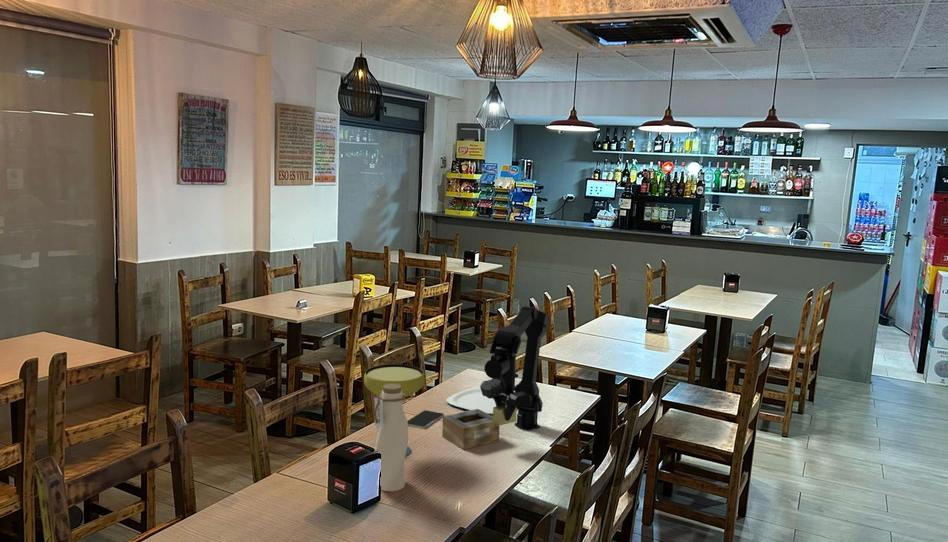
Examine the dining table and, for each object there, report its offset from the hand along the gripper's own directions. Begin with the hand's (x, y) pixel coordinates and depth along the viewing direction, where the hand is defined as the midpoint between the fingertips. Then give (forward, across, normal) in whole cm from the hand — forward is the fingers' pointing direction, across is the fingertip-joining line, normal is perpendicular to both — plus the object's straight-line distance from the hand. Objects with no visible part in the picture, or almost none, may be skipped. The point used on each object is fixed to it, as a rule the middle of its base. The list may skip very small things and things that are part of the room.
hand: (504, 418), depth 211 cm
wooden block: (+1, 0, 0) cm, 1 cm away
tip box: (+9, -11, -5) cm, 15 cm away
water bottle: (+10, +5, -43) cm, 44 cm away
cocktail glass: (+10, -15, -31) cm, 36 cm away
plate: (+10, -37, +20) cm, 43 cm away
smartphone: (+10, -33, -9) cm, 36 cm away
